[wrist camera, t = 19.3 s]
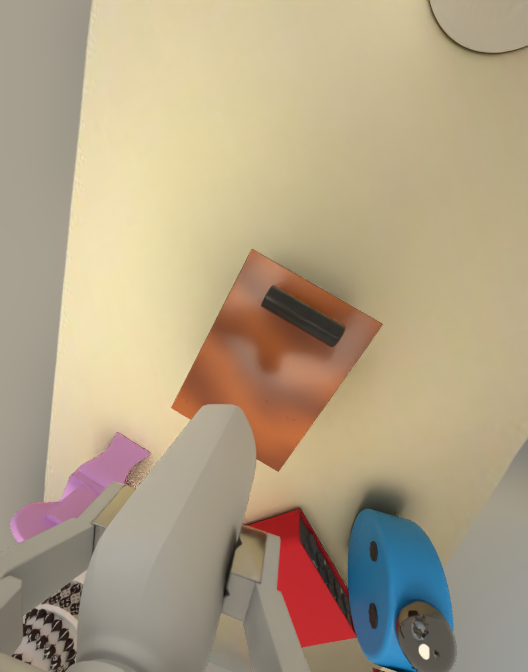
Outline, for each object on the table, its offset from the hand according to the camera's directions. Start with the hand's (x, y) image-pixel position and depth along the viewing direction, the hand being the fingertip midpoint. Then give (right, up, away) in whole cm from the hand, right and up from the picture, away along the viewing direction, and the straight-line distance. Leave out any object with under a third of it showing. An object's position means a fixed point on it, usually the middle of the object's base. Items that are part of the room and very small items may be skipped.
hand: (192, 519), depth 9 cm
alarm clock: (+18, -20, +26) cm, 38 cm away
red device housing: (+6, -29, +30) cm, 42 cm away
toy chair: (-20, -13, +30) cm, 39 cm away
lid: (+3, +4, +14) cm, 15 cm away
